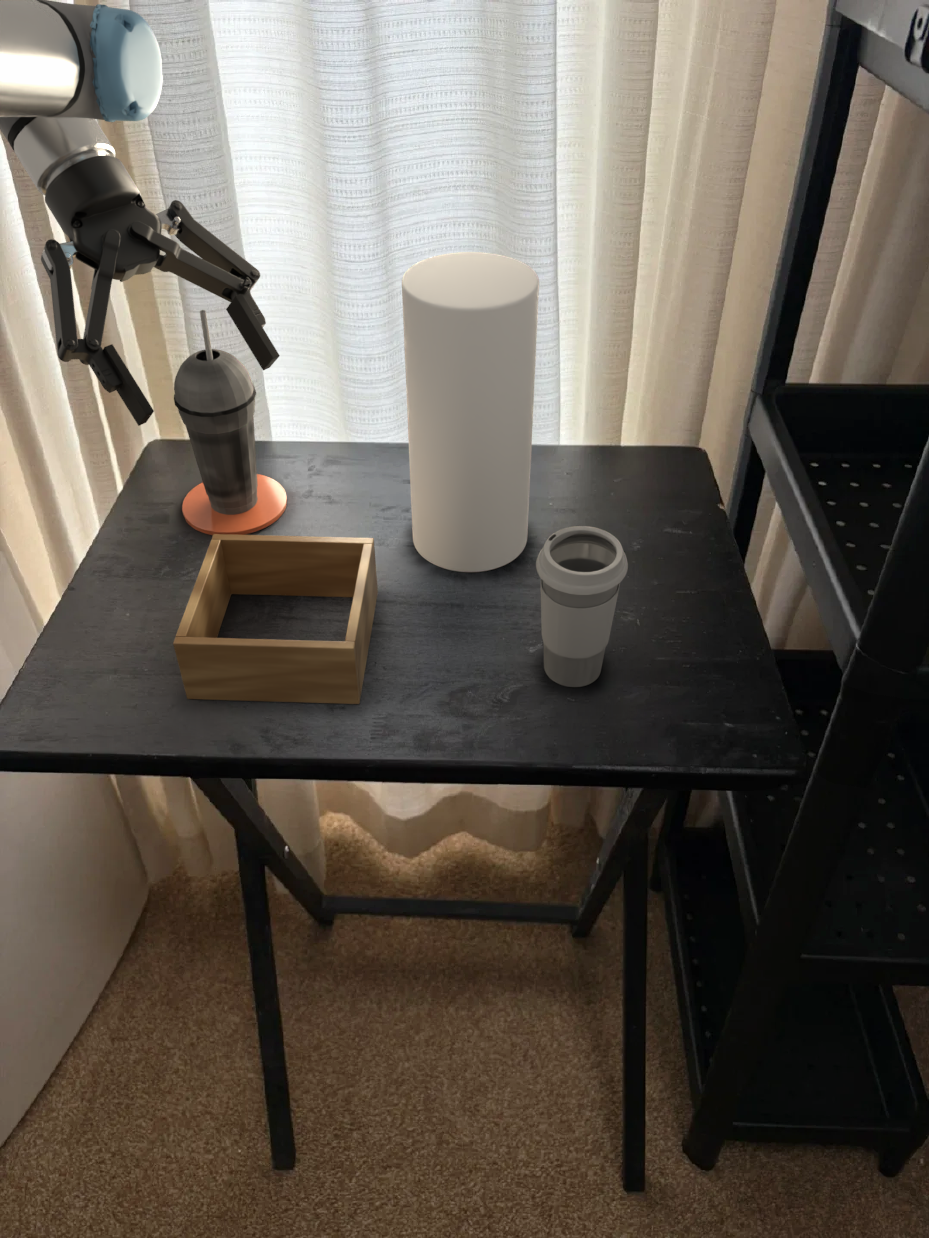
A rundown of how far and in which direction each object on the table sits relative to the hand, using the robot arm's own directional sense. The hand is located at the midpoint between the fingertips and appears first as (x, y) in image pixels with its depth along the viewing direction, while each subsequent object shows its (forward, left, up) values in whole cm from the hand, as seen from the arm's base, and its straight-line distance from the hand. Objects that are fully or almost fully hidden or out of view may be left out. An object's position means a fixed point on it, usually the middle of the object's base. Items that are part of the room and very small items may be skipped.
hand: (211, 390), depth 94 cm
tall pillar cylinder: (+12, -20, -13) cm, 27 cm away
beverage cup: (0, 0, -12) cm, 12 cm away
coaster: (0, 0, -12) cm, 12 cm away
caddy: (-9, -19, -12) cm, 25 cm away
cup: (+5, -38, -13) cm, 41 cm away
